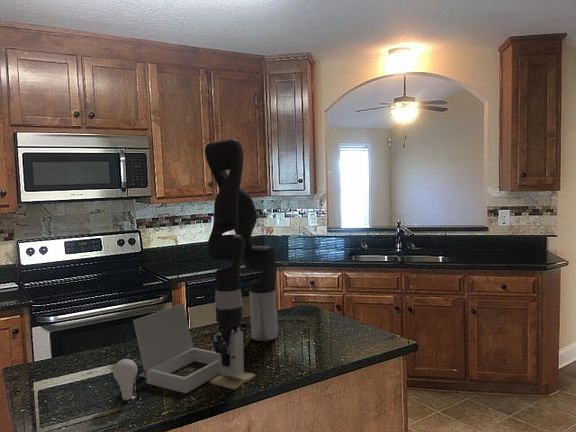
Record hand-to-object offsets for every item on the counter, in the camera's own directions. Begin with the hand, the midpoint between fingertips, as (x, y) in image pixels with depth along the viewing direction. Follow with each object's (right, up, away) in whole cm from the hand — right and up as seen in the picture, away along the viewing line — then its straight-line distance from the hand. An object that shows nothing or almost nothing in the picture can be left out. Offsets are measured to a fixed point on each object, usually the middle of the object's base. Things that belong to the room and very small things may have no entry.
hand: (231, 362), depth 140 cm
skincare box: (0, -3, 0) cm, 3 cm away
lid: (-21, +6, +9) cm, 24 cm away
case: (-13, -5, +5) cm, 15 cm away
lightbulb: (-27, -7, -10) cm, 29 cm away
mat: (0, -5, 0) cm, 5 cm away
